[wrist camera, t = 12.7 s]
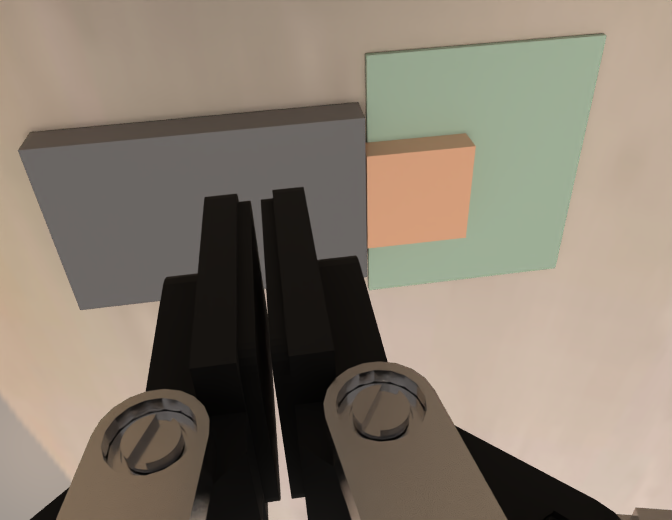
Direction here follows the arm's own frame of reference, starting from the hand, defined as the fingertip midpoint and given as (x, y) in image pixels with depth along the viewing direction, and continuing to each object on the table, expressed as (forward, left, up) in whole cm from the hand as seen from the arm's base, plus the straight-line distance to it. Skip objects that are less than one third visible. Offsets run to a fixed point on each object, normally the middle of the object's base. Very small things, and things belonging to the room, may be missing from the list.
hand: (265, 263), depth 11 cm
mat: (+14, +14, -27) cm, 34 cm away
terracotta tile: (+14, +10, -27) cm, 32 cm away
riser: (+14, -4, -27) cm, 31 cm away
